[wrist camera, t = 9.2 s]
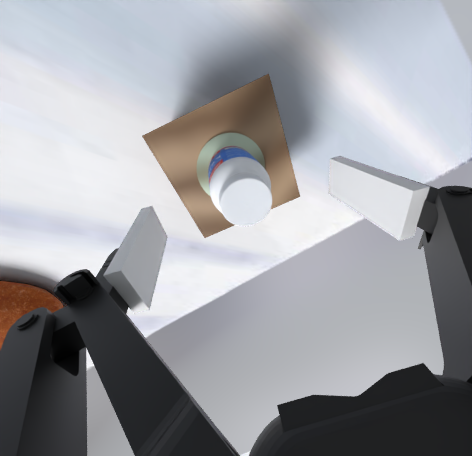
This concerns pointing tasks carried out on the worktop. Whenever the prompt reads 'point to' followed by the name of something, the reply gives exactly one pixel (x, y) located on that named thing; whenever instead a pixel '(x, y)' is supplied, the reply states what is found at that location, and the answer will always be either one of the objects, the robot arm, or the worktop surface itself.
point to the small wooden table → (219, 136)
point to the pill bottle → (239, 186)
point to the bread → (22, 303)
